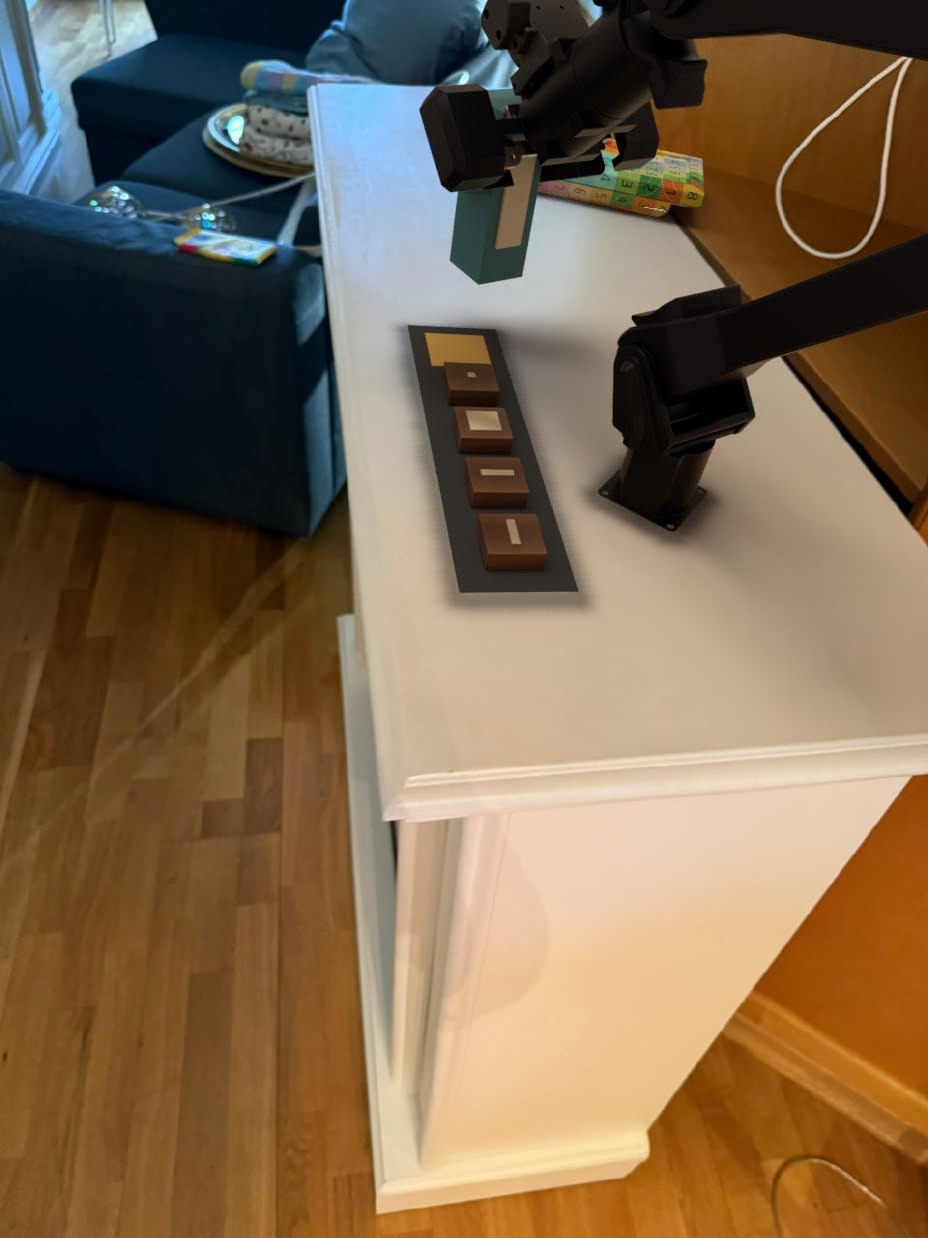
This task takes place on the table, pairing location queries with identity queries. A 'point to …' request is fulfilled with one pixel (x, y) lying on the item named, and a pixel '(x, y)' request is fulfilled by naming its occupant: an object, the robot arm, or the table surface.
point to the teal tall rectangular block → (496, 217)
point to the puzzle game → (637, 184)
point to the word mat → (459, 515)
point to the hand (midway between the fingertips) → (488, 182)
